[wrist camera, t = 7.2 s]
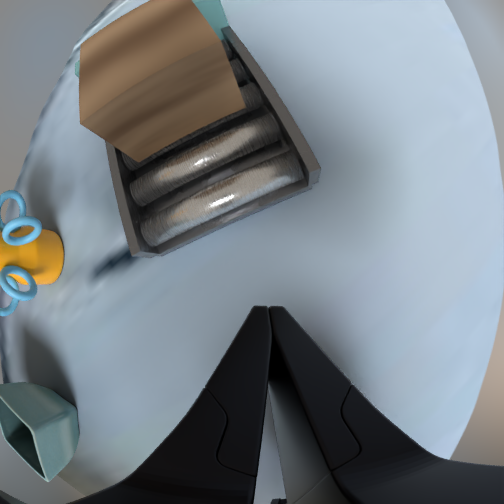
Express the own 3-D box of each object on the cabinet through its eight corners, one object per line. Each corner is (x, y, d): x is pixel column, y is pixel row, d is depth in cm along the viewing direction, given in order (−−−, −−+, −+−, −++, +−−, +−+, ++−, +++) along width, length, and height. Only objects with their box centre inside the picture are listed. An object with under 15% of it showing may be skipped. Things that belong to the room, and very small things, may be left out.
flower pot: (41, 368, 24) (-12, 383, 15) (88, 401, 22) (32, 430, 14) (47, 419, 24) (4, 440, 15) (92, 453, 22) (49, 484, 13)
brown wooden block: (245, 107, 18) (221, 41, 11) (138, 162, 19) (80, 123, 12) (205, 38, 19) (180, -14, 12) (121, 84, 20) (80, 44, 13)
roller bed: (317, 186, 20) (320, 168, 16) (156, 258, 22) (131, 255, 18) (237, 50, 22) (228, 25, 18) (119, 111, 24) (99, 95, 20)
